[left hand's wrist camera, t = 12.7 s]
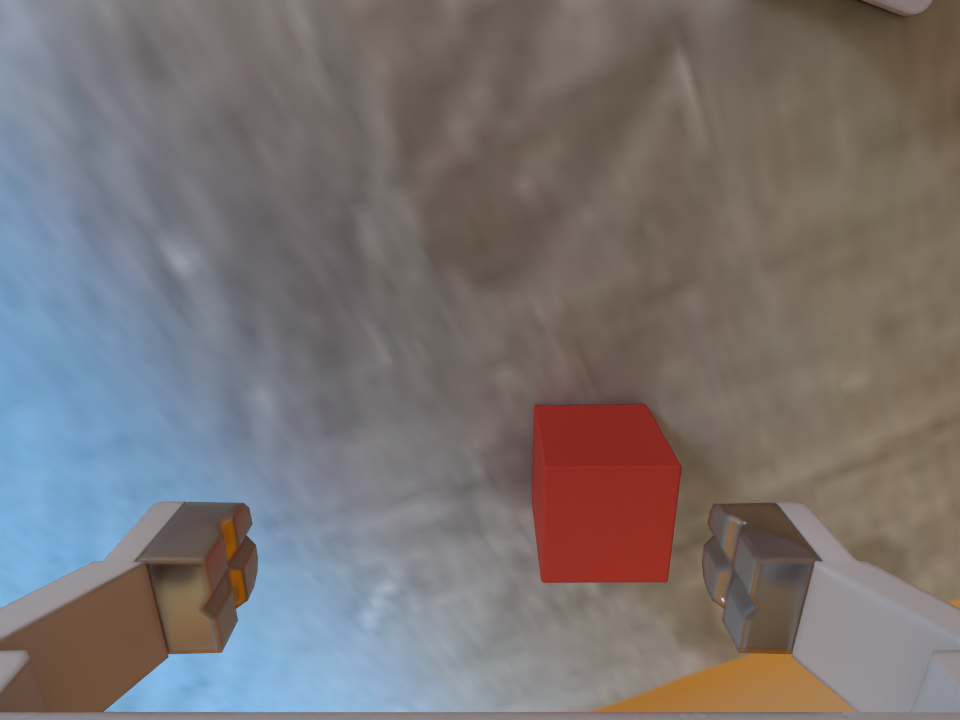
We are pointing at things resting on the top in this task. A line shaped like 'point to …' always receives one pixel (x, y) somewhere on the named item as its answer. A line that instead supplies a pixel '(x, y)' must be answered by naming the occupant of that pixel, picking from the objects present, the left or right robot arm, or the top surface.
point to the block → (602, 494)
